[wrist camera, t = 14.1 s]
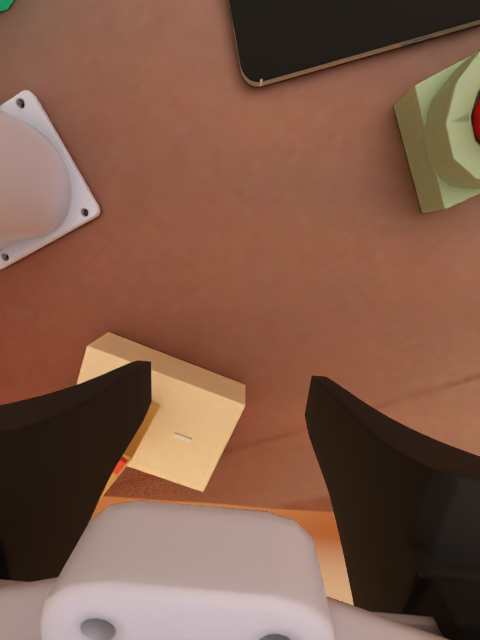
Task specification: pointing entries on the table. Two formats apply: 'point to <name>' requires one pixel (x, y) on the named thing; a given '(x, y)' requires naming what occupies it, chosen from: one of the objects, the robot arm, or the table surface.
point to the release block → (443, 135)
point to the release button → (477, 120)
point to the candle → (5, 4)
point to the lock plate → (175, 410)
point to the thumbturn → (132, 445)
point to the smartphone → (334, 31)
